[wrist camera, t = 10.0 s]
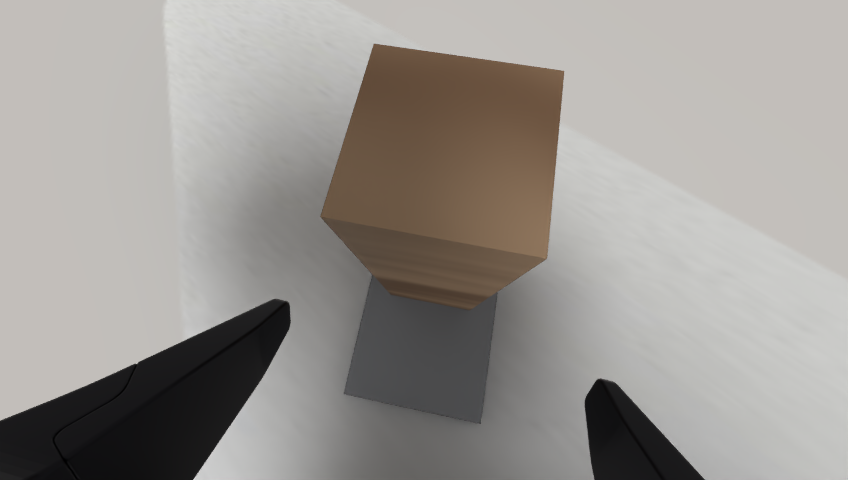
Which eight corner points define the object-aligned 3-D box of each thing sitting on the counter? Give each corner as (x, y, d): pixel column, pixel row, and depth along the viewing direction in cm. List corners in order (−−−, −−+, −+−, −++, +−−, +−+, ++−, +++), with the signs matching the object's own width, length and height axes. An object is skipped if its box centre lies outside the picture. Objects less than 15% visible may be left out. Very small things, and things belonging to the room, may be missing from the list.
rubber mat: (478, 420, 16) (480, 423, 16) (346, 392, 17) (343, 393, 16) (504, 221, 20) (507, 218, 19) (392, 202, 20) (391, 198, 19)
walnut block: (469, 310, 17) (546, 258, 6) (390, 294, 18) (320, 216, 6) (481, 234, 19) (563, 71, 7) (407, 221, 19) (373, 43, 8)
